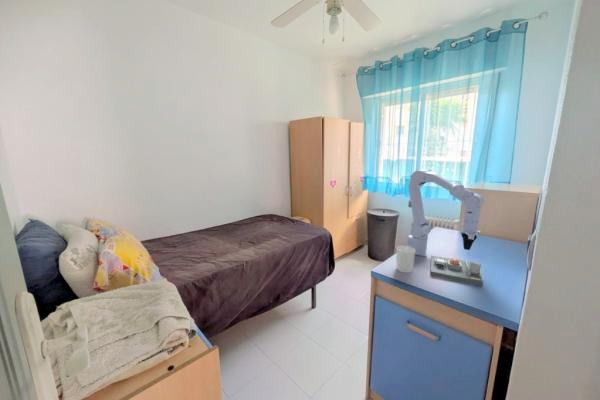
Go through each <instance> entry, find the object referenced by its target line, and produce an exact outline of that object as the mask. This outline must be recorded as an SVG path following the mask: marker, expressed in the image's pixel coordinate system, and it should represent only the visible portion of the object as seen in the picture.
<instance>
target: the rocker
mask: <svg viewBox="0 0 600 400" xmlns="http://www.w3.org/2000/svg"><path fill="white" fill-rule="evenodd" d="M436 261H437V264H442V265H445V262H444V260H443V259H438V258H437V260H436Z"/></svg>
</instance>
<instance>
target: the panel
mask: <svg viewBox="0 0 600 400" xmlns="http://www.w3.org/2000/svg"><path fill="white" fill-rule="evenodd" d="M437 258H438V259H443V260H444V262H445V265H442V264H437V261H436V260H437ZM451 259H452V258H448V257H441V256H436V255H430V259H429V260H430V263H429V265H430V266H429V267H430V269H429V270H430V272H429V273H430V274H429V276H431V277H435V278H440V279H446V280H450V281H456V282H461V283H466V284H470V285H475V286H479V287H482V286H483V283H484V281H483V278H482V274H481V272H480V273H479V272H478V275H474V274H471V272H470V271H469V267H470V262H471V261H467V259H465V260H459V259H458V260H459V264H458V265H454V264H451ZM473 263H477V261H474V262H473Z"/></svg>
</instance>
